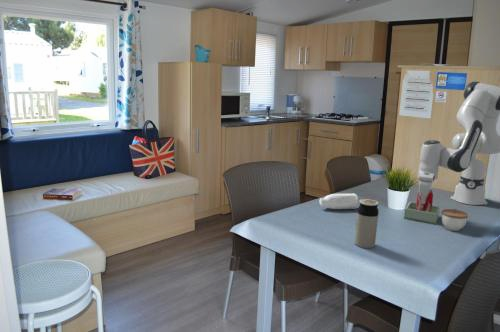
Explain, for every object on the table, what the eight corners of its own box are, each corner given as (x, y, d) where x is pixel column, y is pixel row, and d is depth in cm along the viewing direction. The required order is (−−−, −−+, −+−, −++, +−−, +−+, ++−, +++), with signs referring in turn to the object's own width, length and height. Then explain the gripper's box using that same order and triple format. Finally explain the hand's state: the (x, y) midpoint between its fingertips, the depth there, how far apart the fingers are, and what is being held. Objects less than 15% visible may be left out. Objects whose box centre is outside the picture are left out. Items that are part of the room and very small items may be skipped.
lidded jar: (434, 225, 194) (437, 206, 192) (452, 223, 198) (454, 204, 196) (452, 233, 184) (455, 213, 182) (470, 231, 188) (474, 211, 186)
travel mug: (378, 244, 168) (382, 202, 164) (369, 250, 162) (373, 206, 159) (360, 239, 173) (364, 197, 170) (350, 244, 168) (355, 201, 164)
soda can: (432, 216, 202) (435, 192, 198) (416, 215, 203) (419, 191, 200) (429, 211, 208) (432, 188, 205) (414, 209, 210) (417, 187, 206)
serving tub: (408, 210, 215) (409, 201, 214) (438, 216, 208) (440, 206, 207) (404, 218, 203) (405, 208, 202) (436, 224, 196) (437, 214, 195)
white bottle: (316, 207, 215) (317, 192, 214) (350, 206, 219) (351, 191, 218) (322, 211, 208) (323, 196, 206) (357, 210, 212) (358, 195, 210)
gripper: (423, 169, 211) (419, 195, 214) (418, 177, 194) (414, 205, 196) (436, 171, 208) (433, 197, 211) (432, 178, 191) (428, 207, 194)
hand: (424, 201), depth 204 cm, fingers closed on soda can, 6 cm apart
